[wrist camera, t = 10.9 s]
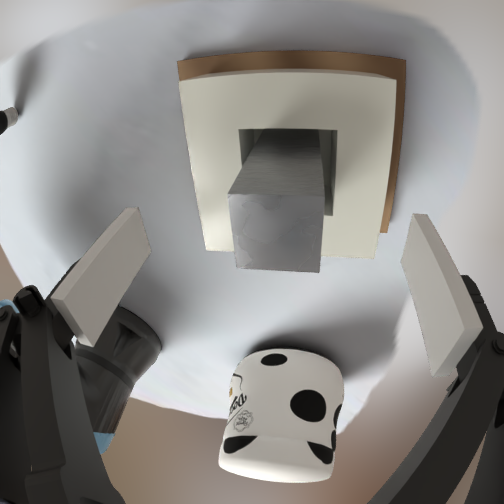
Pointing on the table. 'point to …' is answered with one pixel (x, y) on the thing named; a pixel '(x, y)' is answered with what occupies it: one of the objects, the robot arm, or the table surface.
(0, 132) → the light bulb
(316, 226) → the brushed grey pillar
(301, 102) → the well
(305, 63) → the board
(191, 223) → the table surface
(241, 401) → the milk container
